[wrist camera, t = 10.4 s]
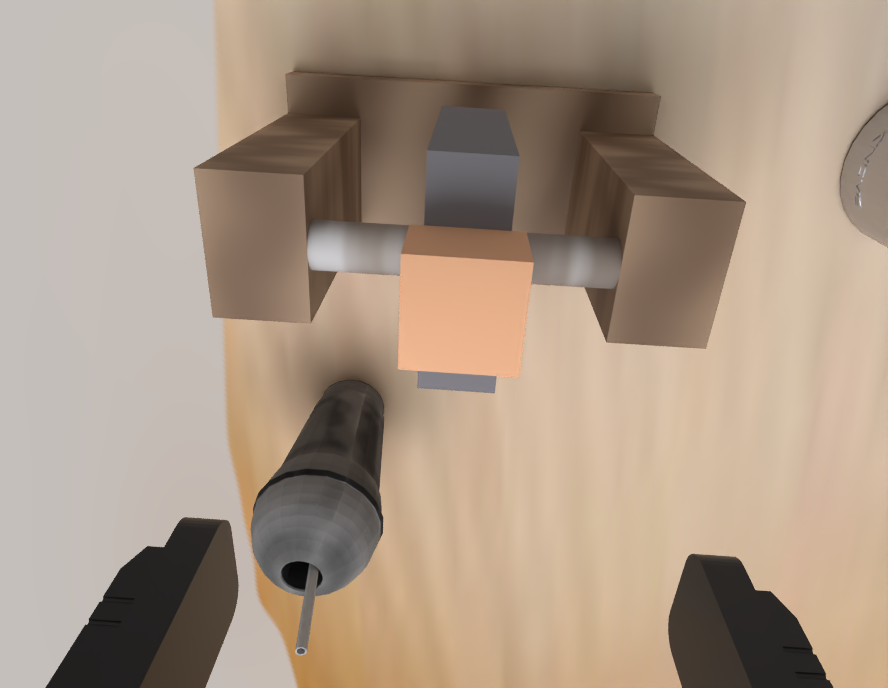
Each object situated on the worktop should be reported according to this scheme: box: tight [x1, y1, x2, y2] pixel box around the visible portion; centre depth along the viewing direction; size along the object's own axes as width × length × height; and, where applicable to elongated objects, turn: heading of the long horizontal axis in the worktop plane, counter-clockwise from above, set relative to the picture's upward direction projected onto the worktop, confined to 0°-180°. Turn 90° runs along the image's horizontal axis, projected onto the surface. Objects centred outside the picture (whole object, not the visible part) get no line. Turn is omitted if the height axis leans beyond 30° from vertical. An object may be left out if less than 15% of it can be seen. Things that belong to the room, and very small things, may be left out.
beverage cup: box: [251, 380, 384, 655], centre depth 37 cm, size 7×7×20 cm
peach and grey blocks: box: [398, 106, 534, 393], centre depth 26 cm, size 4×9×14 cm, turn 177°
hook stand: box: [194, 72, 746, 349], centre depth 31 cm, size 20×10×15 cm, turn 87°
